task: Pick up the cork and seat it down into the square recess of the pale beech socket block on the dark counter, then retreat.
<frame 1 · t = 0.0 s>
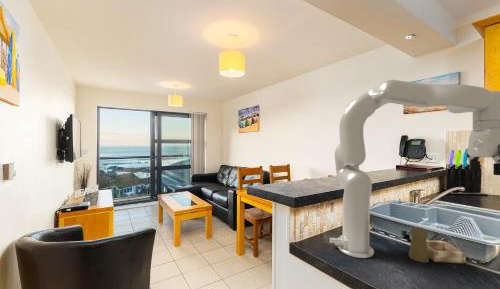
hand: (486, 173, 82), 31 cm above the worktop, fingers open, 9 cm apart
cork: (418, 258, 82), on the worktop
socket block: (439, 255, 84), on the worktop
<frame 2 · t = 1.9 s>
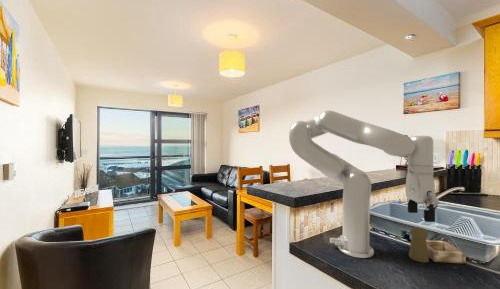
hand: (420, 216, 82), 15 cm above the worktop, fingers open, 9 cm apart
nothing on the worktop moved.
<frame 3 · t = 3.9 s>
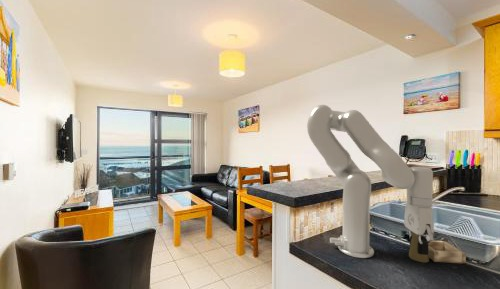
hand: (418, 250, 82), 3 cm above the worktop, fingers closed on cork, 4 cm apart
cork: (418, 258, 82), on the worktop, touching gripper
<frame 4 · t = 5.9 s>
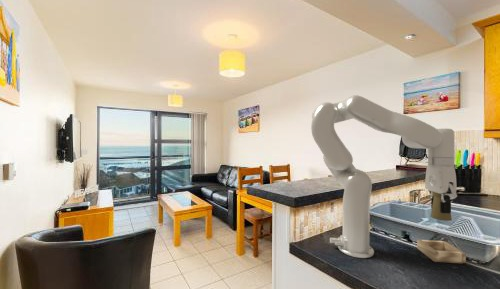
hand: (440, 210, 84), 17 cm above the worktop, fingers closed on cork, 4 cm apart
cork: (440, 218, 84), point 14 cm above the worktop, touching gripper
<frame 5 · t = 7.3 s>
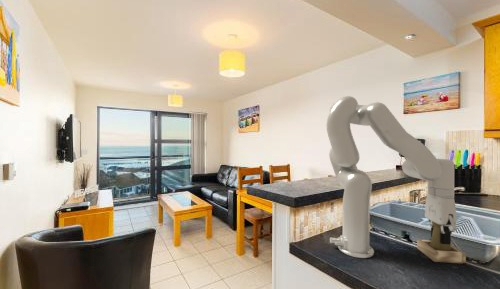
hand: (440, 240, 84), 6 cm above the worktop, fingers closed on cork, 4 cm apart
cork: (440, 248, 84), point 3 cm above the worktop, touching gripper
when the fingers open (5 cm above the worktop, at t = 8.2 s): cork drops 1 cm, resting on socket block.
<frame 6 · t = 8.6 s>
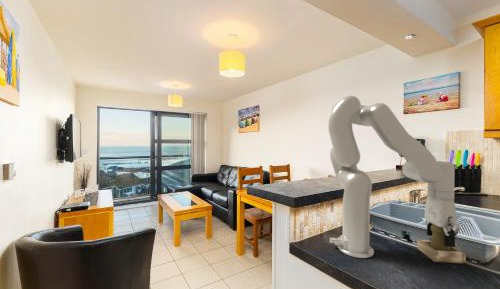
hand: (440, 240, 84), 6 cm above the worktop, fingers open, 8 cm apart
cork: (439, 254, 84), resting on socket block
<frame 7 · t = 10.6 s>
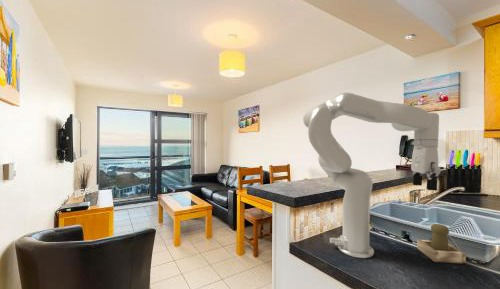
hand: (424, 187, 89), 24 cm above the worktop, fingers open, 9 cm apart
nothing on the worktop moved.
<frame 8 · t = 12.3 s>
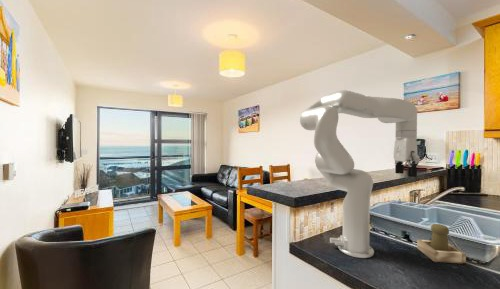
hand: (405, 175, 96), 28 cm above the worktop, fingers open, 9 cm apart
nothing on the worktop moved.
at the end: cork 0.2 cm from the socket block (horizontally); cork resting on socket block; cork tilted 0° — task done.
